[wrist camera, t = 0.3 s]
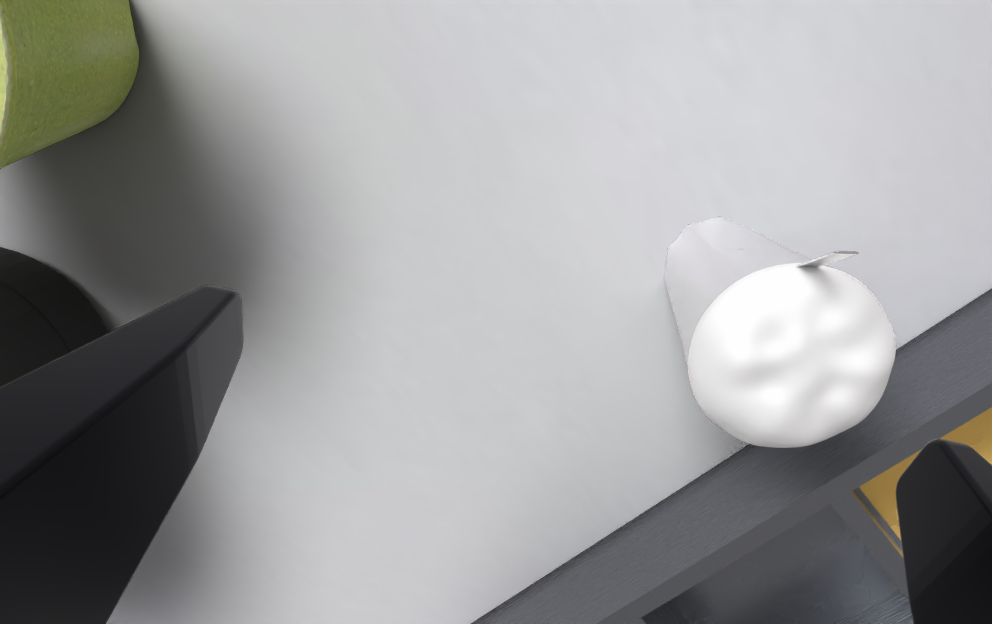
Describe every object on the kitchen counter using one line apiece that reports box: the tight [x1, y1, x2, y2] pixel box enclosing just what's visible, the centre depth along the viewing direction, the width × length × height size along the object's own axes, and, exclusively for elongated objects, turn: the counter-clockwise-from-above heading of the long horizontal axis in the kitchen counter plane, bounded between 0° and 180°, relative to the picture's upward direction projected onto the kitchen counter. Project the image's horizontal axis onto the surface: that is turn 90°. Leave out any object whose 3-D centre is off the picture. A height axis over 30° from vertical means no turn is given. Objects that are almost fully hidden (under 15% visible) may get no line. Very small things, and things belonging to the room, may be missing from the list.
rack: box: [471, 289, 992, 624], centre depth 26 cm, size 24×9×4 cm, turn 130°
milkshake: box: [664, 216, 896, 448], centre depth 20 cm, size 5×5×10 cm
